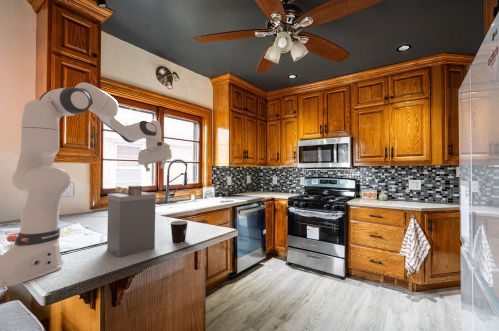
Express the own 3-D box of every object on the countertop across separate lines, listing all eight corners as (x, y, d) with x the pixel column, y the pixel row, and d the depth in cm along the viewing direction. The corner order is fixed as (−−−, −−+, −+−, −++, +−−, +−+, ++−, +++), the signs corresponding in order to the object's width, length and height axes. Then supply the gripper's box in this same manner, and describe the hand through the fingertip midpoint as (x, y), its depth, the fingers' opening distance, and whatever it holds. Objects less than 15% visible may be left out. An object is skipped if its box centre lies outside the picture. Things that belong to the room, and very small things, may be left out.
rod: (114, 191, 123) (114, 183, 123) (123, 191, 127) (123, 183, 127) (132, 195, 109) (132, 186, 109) (141, 194, 113) (141, 186, 113)
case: (106, 249, 113) (107, 194, 113) (141, 241, 125) (142, 191, 125) (118, 257, 103) (119, 197, 103) (155, 248, 116) (156, 194, 116)
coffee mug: (179, 237, 133) (180, 219, 133) (190, 240, 128) (191, 222, 128) (161, 243, 123) (162, 223, 123) (172, 246, 118) (172, 226, 118)
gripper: (135, 149, 141) (135, 172, 137) (166, 141, 136) (167, 165, 133) (142, 151, 147) (143, 173, 143) (172, 144, 142) (173, 167, 139)
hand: (155, 169), depth 138 cm, fingers open, 8 cm apart
